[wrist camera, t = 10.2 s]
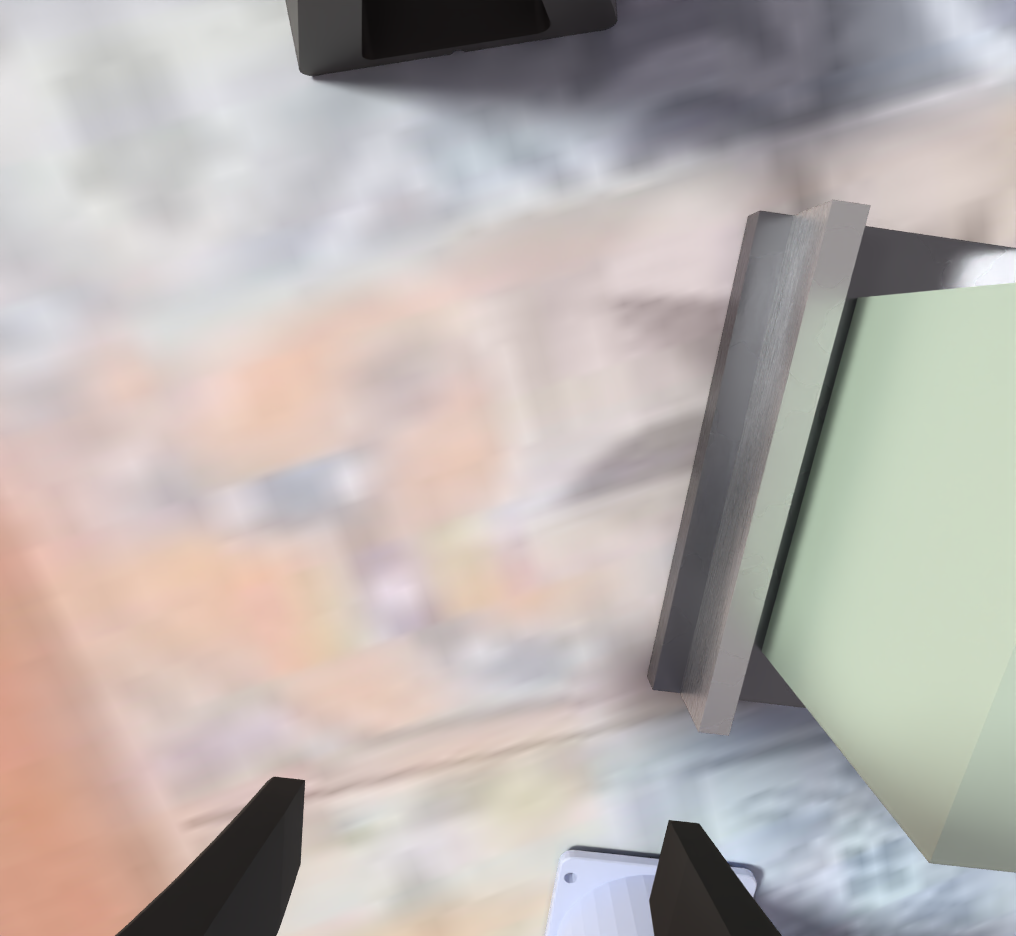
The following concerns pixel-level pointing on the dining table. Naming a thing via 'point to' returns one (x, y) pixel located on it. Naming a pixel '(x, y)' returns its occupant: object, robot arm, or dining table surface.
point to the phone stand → (429, 28)
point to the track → (777, 434)
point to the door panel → (915, 569)
